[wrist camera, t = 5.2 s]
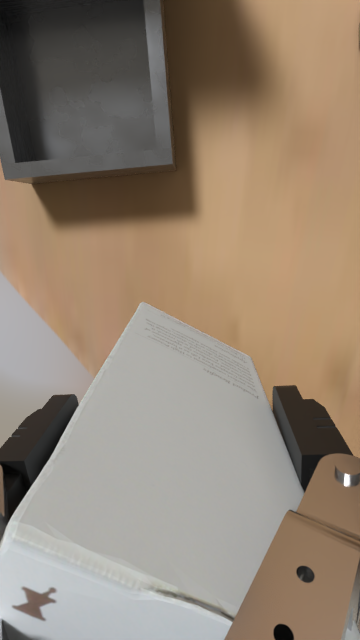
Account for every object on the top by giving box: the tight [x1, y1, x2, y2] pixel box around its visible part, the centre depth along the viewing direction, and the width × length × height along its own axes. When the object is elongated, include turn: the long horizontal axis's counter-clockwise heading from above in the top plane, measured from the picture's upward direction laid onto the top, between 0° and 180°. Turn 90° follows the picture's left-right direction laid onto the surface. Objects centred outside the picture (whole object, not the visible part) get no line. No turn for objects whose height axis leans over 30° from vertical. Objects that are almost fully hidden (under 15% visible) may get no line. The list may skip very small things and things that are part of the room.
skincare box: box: [0, 302, 360, 640], centre depth 11 cm, size 6×4×12 cm
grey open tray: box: [0, 0, 176, 184], centre depth 24 cm, size 12×14×4 cm
